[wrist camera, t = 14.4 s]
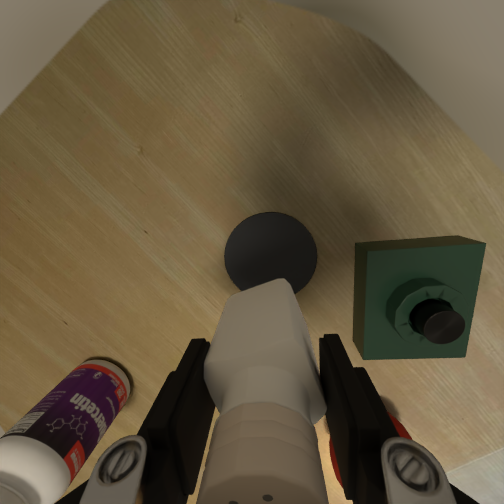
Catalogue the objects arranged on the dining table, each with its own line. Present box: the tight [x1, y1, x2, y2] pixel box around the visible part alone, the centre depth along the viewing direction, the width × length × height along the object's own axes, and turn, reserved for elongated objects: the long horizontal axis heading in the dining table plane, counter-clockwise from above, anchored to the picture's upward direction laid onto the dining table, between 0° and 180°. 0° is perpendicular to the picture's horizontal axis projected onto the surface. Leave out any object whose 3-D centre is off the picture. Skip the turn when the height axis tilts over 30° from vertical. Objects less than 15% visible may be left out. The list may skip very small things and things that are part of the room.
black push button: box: [410, 299, 465, 344], centre depth 20 cm, size 3×3×2 cm
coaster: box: [224, 212, 317, 294], centre depth 25 cm, size 10×10×1 cm
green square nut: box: [353, 236, 486, 360], centre depth 23 cm, size 12×10×5 cm
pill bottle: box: [0, 360, 130, 504], centre depth 25 cm, size 8×8×14 cm
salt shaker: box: [196, 278, 329, 504], centre depth 10 cm, size 4×4×10 cm
